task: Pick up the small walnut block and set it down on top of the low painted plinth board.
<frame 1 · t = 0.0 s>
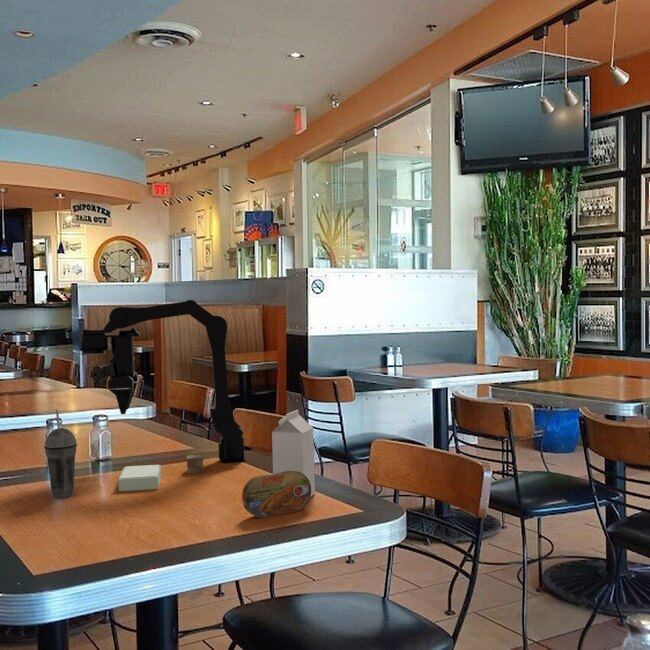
hand: (124, 411, 217), 15 cm above the table, fingers open, 9 cm apart
plinth: (140, 483, 196), on the table
beverage cup: (62, 496, 186), on the table
milk carton: (294, 498, 179), on the table
tin: (277, 514, 166), on the table
walnut block: (195, 471, 208), on the table
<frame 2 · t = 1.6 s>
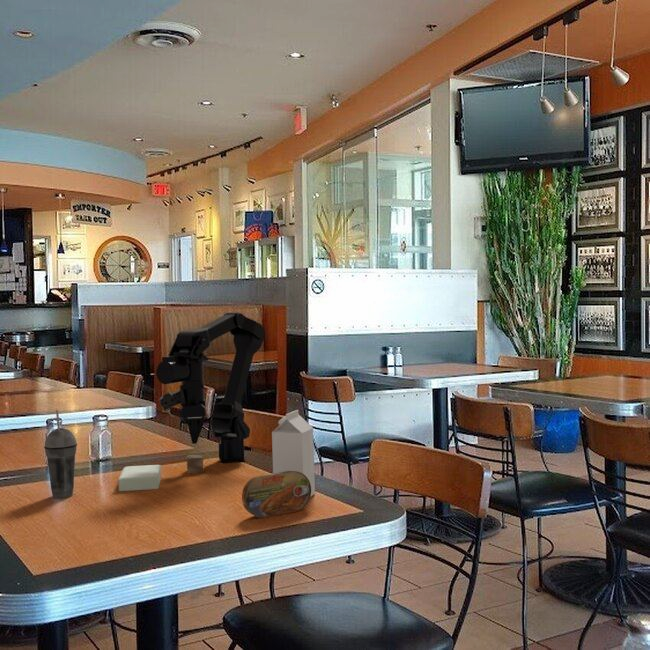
hand: (194, 440, 208), 8 cm above the table, fingers open, 9 cm apart
nothing on the table moved.
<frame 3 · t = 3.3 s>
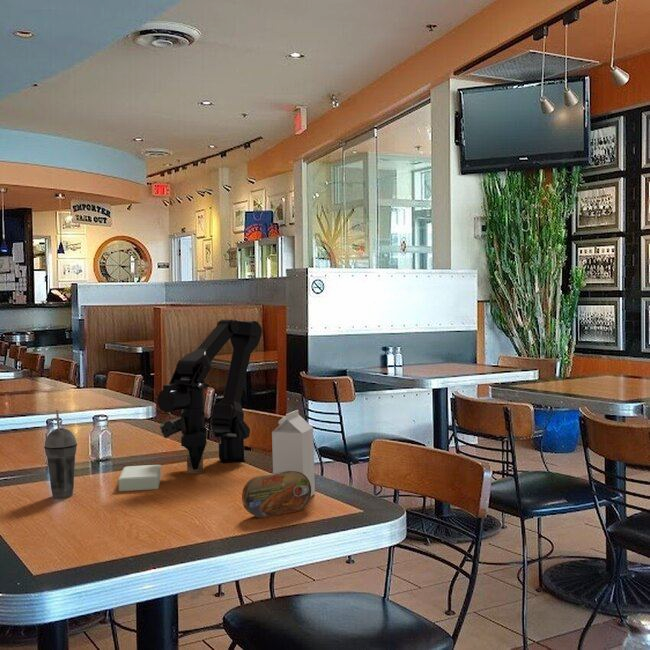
hand: (195, 467, 208), 1 cm above the table, fingers closed on walnut block, 4 cm apart
walnut block: (195, 471, 208), on the table, touching gripper
everything else where it was.
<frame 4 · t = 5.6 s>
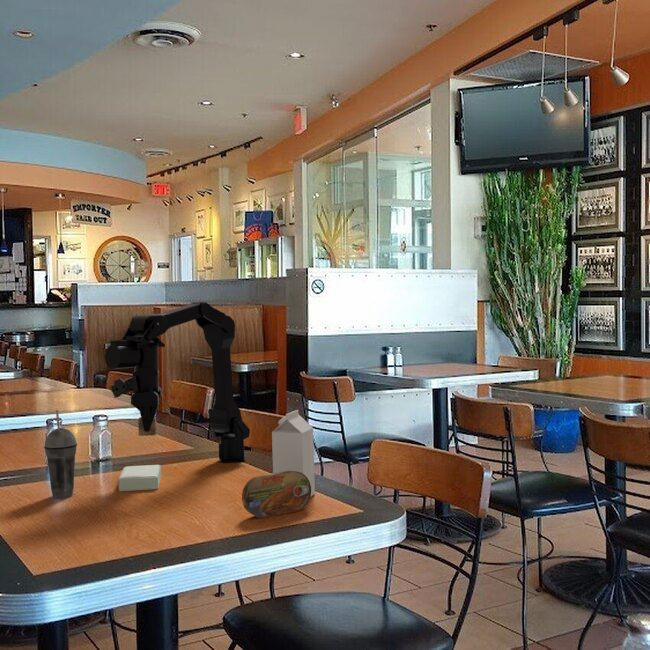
hand: (147, 430, 197), 13 cm above the table, fingers closed on walnut block, 4 cm apart
walnut block: (147, 434, 197), point 12 cm above the table, touching gripper
everything else where it was.
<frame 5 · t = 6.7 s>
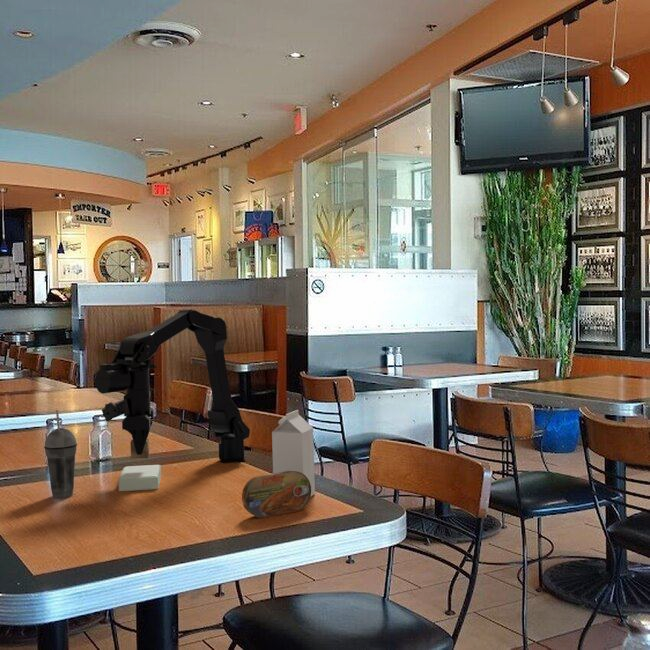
hand: (140, 452, 196), 7 cm above the table, fingers closed on walnut block, 4 cm apart
walnut block: (140, 456, 196), point 6 cm above the table, touching gripper
everything else where it was.
when the fingers open (5 cm above the table, at t = 7.9 s): walnut block stays where it is, resting on plinth.
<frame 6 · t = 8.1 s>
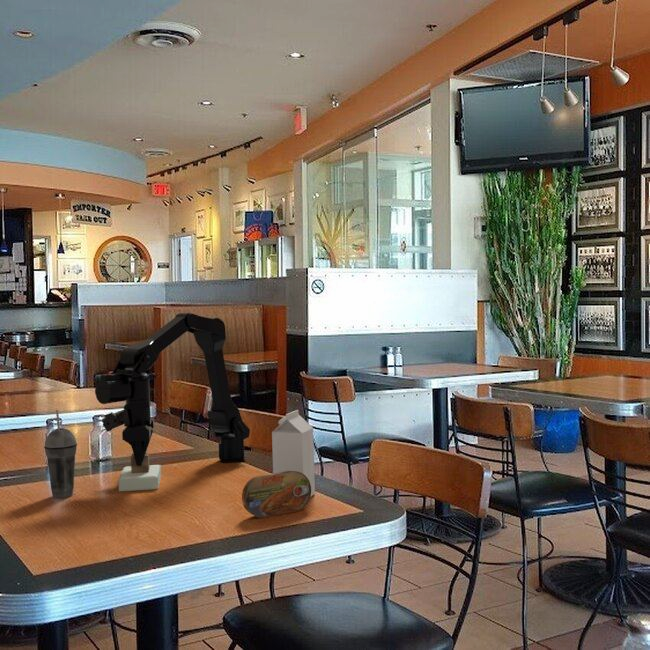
hand: (140, 462, 196), 5 cm above the table, fingers open, 6 cm apart
walnut block: (140, 471, 196), point 3 cm above the table, touching plinth
everything else where it was.
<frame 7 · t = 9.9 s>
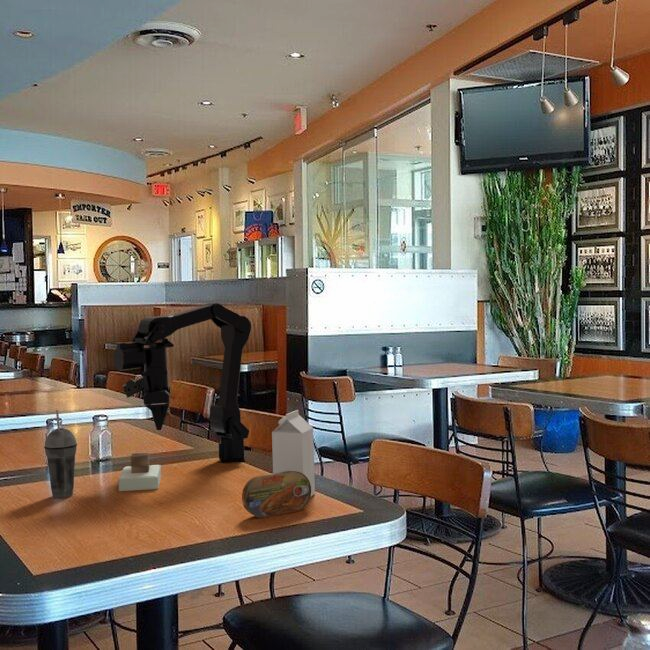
hand: (159, 426, 207), 12 cm above the table, fingers open, 9 cm apart
nothing on the table moved.
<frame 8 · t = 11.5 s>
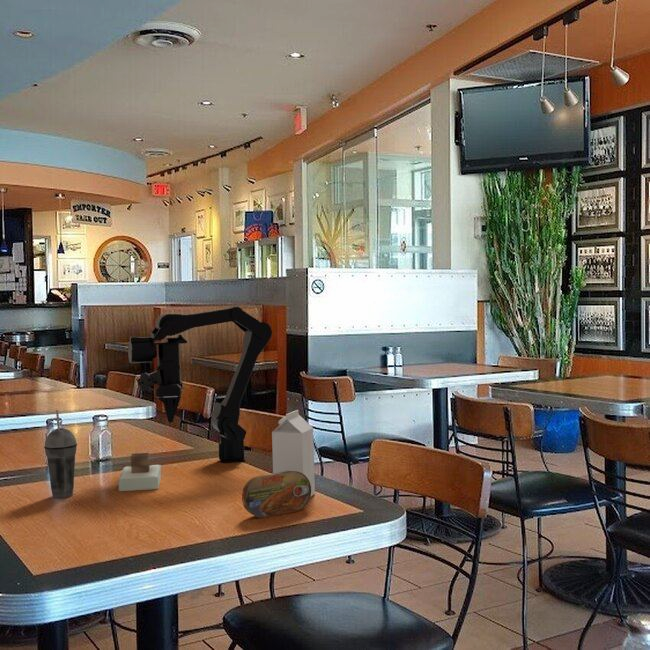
hand: (171, 419, 214), 13 cm above the table, fingers open, 9 cm apart
nothing on the table moved.
at the end: walnut block inside the target area on the plinth (0.0 cm from its centre), point 3.0 cm above the plinth's base; walnut block tilted 0°; the gripper is holding nothing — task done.
